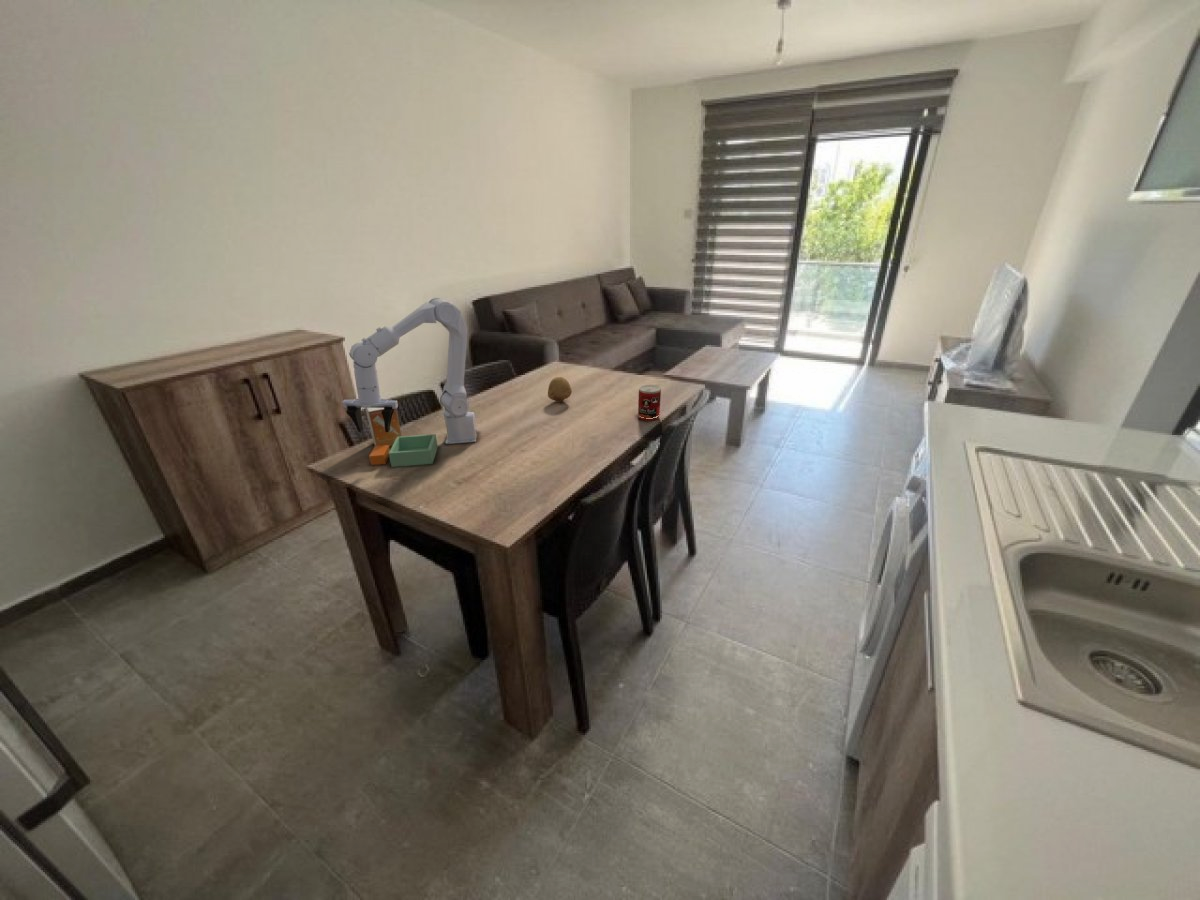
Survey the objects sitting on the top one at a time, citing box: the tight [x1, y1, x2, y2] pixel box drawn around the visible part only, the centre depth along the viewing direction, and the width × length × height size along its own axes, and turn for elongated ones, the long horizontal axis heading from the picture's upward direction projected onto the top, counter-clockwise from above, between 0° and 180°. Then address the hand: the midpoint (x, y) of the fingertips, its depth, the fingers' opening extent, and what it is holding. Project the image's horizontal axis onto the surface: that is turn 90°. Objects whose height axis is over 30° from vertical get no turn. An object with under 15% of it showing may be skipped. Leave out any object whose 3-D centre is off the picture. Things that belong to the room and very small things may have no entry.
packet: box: [368, 445, 391, 466], centre depth 144 cm, size 4×7×3 cm, turn 10°
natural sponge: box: [547, 376, 573, 403], centre depth 185 cm, size 9×9×10 cm
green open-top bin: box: [388, 433, 439, 468], centre depth 145 cm, size 12×12×4 cm
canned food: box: [637, 384, 662, 422], centre depth 171 cm, size 8×8×11 cm
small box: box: [365, 408, 403, 448], centre depth 151 cm, size 8×6×13 cm
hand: (374, 430), depth 141 cm, fingers open, 7 cm apart
